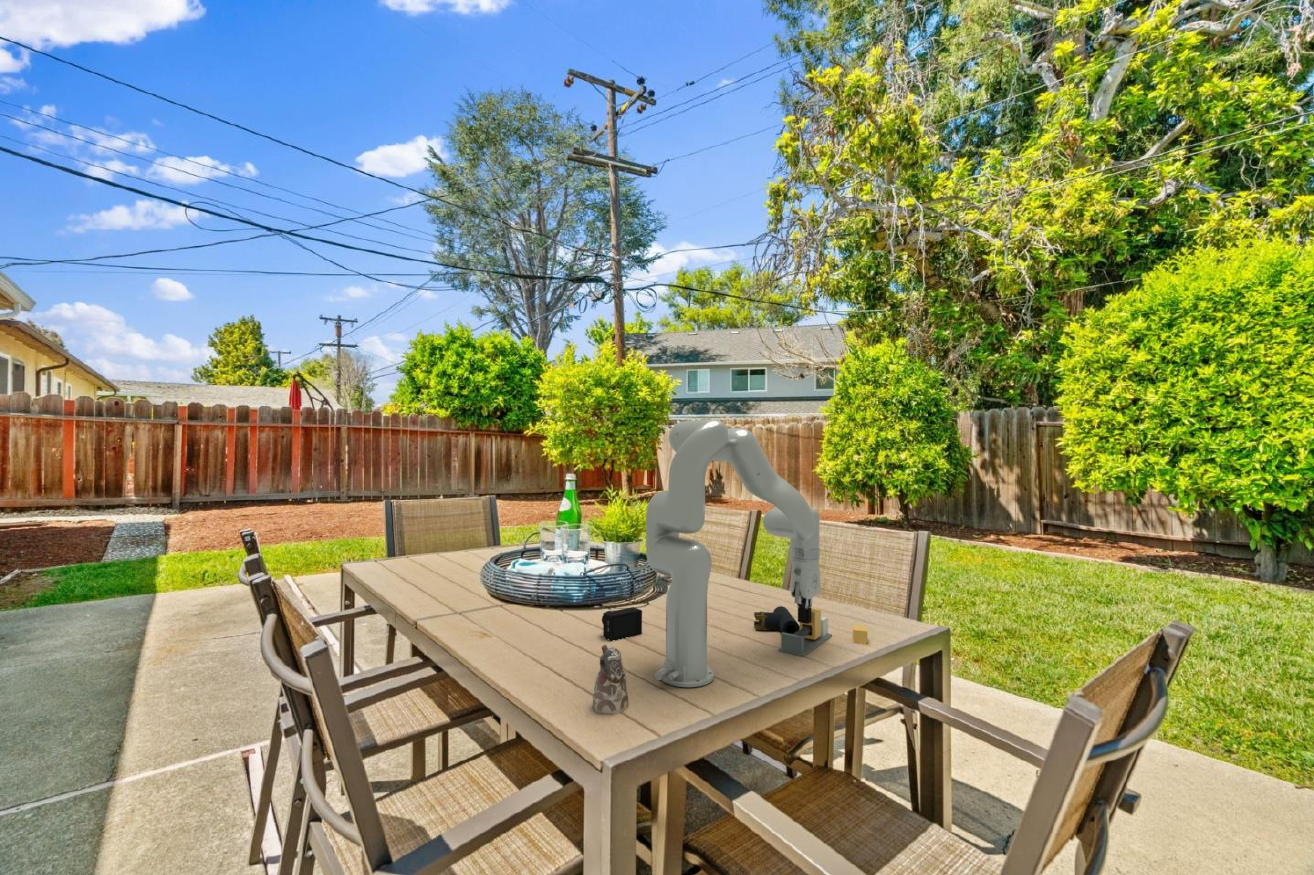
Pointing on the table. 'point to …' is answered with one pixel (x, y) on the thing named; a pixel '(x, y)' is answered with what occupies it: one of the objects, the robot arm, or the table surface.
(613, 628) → the digital camera
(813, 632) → the yellow sliding block
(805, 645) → the grey slider rail base
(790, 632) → the pipe connector
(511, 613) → the table surface
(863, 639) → the mustard yellow cube
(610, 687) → the figurine
